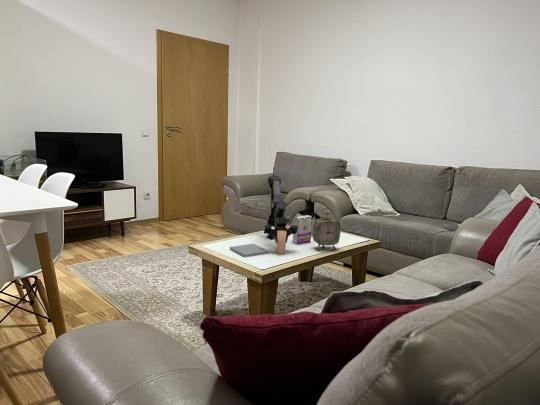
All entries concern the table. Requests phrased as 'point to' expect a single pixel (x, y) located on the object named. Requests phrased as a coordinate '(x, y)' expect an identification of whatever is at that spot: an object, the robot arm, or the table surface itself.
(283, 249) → the terracotta canister
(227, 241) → the table surface
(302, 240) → the candy bar box
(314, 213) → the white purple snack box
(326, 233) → the tabletop clock
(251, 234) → the table surface
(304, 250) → the table surface
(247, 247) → the slate board
